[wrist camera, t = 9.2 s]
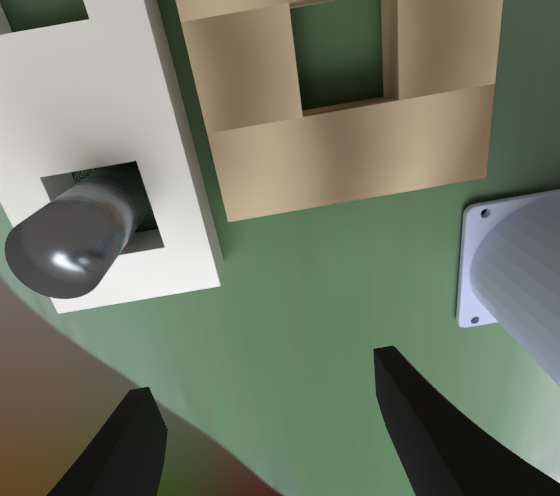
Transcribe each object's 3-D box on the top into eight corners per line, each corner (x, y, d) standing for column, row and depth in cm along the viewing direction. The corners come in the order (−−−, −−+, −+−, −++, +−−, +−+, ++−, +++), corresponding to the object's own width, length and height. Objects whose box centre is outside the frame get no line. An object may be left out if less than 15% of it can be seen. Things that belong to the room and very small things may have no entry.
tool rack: (103, -212, 12) (70, -273, 10) (223, 261, 20) (220, 285, 18) (-135, -169, 12) (-220, -220, 10) (79, 286, 20) (58, 313, 18)
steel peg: (144, 158, 18) (86, 211, 11) (159, 217, 19) (115, 293, 13) (81, 166, 18) (-13, 222, 11) (100, 224, 19) (27, 303, 13)
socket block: (485, -157, 14) (521, -191, 12) (463, 166, 19) (486, 177, 17) (160, -99, 14) (146, -123, 12) (230, 207, 19) (228, 222, 17)
